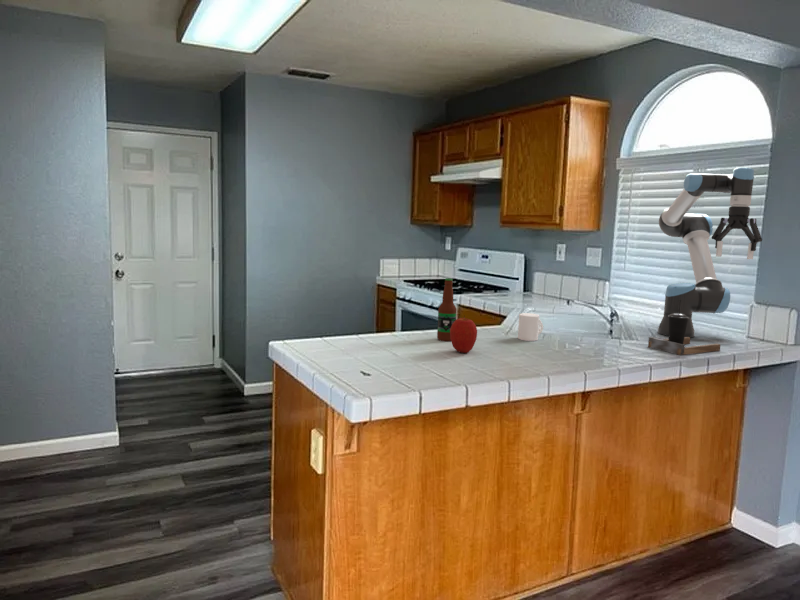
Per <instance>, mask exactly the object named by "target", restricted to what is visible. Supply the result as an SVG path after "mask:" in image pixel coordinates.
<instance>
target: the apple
mask: <svg viewBox="0 0 800 600" xmlns="http://www.w3.org/2000/svg"><path fill="white" fill-rule="evenodd" d="M477 337H478V327H477V325H476V324H475V322H474V321H473V320H472V319H469V318H466V317H465V315H464V317H459V318H456V320H455V321H454V322H453V324H452V326H451V329H450V339H451V341H450V342H451V344H452V347H453V348H454V349H455V351H457V352H458V353H466V354H467V353H469V352H471V350H473V348H474V346H475V343H476V341H477V339H478V338H477Z"/></svg>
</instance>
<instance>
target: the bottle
mask: <svg viewBox="0 0 800 600" xmlns="http://www.w3.org/2000/svg"><path fill="white" fill-rule="evenodd" d="M453 280H454V279H453V278H448V277H447V278H445V279H444V283H443V284H444V287H443V288H444V289H443V291H442V292H443V293H442V302H441V304H439V307H438V309H437V312H438V313H437V331H436V332H437V333H436V334H437V335H436V337H437V339H438V341H440V340H441V341H442V342H451V339H450V329H451V326H452V324H453V322H454V321H455V320H456V319H457V307H456V305H455V303H454V288H453Z"/></svg>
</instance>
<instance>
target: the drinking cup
mask: <svg viewBox="0 0 800 600" xmlns="http://www.w3.org/2000/svg"><path fill="white" fill-rule="evenodd" d="M680 308H681V300H679V309H678V313H673V314H670V315H668V317H669V336H668V339H669V341H671V342H676V343H680V344H683V342H684V337H685V332H686V327H687V323H688V319H689V317H688V316H686V315H685V314H682V313H680Z"/></svg>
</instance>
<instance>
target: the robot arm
mask: <svg viewBox="0 0 800 600" xmlns="http://www.w3.org/2000/svg"><path fill="white" fill-rule="evenodd" d="M732 172H733V173H730V174H727V173H726V174H725V173H722V174H721V173H699V172H696V173H695V172H694V173H688V174H687V175H686V176H685V178H684V181H683V189H682V191H680V193H679V194H678V196H677V197H676V198H675V200H673V202H672V203H671V204H670V206H669V207H668V208H665V209H664V210H663V211H662V213H661V214H660V216H659V218H658V226H659V228H660V231H662V233H664V234H665V235H667V236H669V237H672V238H673V237H674V238H682V241H683V243H684V244H686V245H687V248H688V252H689V253H688V254H689V258H690V262H691V265H692V270H693V271H692V272H693V274H694V279H695V283H692V282H682V283H681V282H678V283H671V284H669V285H667V286H666V290H665V294H664V295H665V298H664V310H663V316H662V318H661V321H660V323H659V325H658V327H657V333H658V334H659V335H664V336H667V337H669V317H668V315H670V314H673V313H678V309H679V300H681V308H680V313H682V314H685V315H686V316H688V317H689V319H688V323H687V327H686V332H685V337H690V338H693V337H695V328H694V323H693V319H692V318H693V313H703V314H704V313H706V314H722V313H725V312H726V310H727V309H728V308H729V305H730V301H731V291H730V288H728V287H723V284H722V281H721V280H719V279H717V274H716V271H715V270H716V269H715V267H714V263H713V258H712V253H711V250H710V247H709V242H708V240H709V239H710V237H711V239H712V240H714V241H715V246H714V248H715V249H716V251H715V257H722V254H723V246H724V241H723V239H724V238H725V237H726V236H727V235H728V234H729V233H730V232H731V230H734V229H735V230H736V229H737V230H742V231H743V233H744V234H745V236H746V237H747V239H748V241H749V242H748V248H747V256H746V259H747V260H753V259H754V252H756V251H757V245H758V243H761V242H763V238H762V235H761V233H760V230H759V227H758V225H757V218H753V217H752V218H749V216H750V212H751V208H750V206H751V202H752V196H753V195H752V194H753V187H754V180H755V170H754V168H752V167H736V168H734V169H733V170H732ZM704 193H723V194H730V199H729V205H730V206H729V207H728V217H721V218H720V221H719V224H718V226H717V228H716V229H715V231H714V233H713V230H714V229H713V226H714V224H713V221H712V218H711V217H710V216H709V215H707V214H706V213H688V212H689V210H690V209H691V208H692V207H693V206H694V205H695V203H696V202H697V201H698V200H699V199H700V198H701V197H702V195H703V194H704ZM727 223H728V224H727ZM748 224H749V226H750V227H749V226H748ZM750 228H751V230H750Z"/></svg>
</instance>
